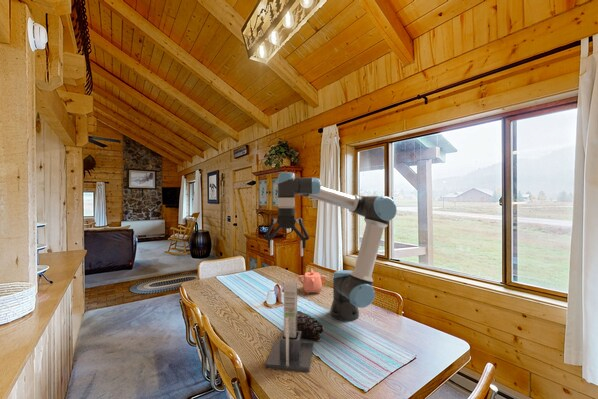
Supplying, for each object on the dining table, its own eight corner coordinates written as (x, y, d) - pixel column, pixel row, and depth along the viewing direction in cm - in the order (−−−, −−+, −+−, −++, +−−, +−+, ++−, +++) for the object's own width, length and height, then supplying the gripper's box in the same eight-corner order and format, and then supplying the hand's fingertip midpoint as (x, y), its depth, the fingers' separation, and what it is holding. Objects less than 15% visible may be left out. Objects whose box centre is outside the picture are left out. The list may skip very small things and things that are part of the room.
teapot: (313, 297, 167) (313, 276, 167) (295, 291, 178) (295, 271, 178) (329, 290, 179) (329, 271, 179) (311, 285, 190) (311, 267, 190)
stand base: (313, 347, 112) (312, 301, 112) (309, 371, 96) (309, 318, 96) (275, 344, 114) (275, 299, 114) (265, 368, 98) (265, 316, 98)
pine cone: (320, 344, 113) (320, 321, 113) (283, 336, 121) (283, 314, 121) (328, 333, 123) (328, 311, 123) (293, 326, 130) (293, 305, 130)
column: (297, 332, 107) (297, 281, 107) (295, 338, 102) (295, 286, 101) (286, 331, 107) (285, 281, 107) (283, 338, 102) (283, 285, 102)
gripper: (315, 207, 121) (315, 254, 121) (261, 207, 124) (261, 253, 124) (313, 207, 113) (314, 257, 114) (256, 207, 117) (257, 256, 117)
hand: (286, 255), depth 119 cm, fingers open, 13 cm apart
